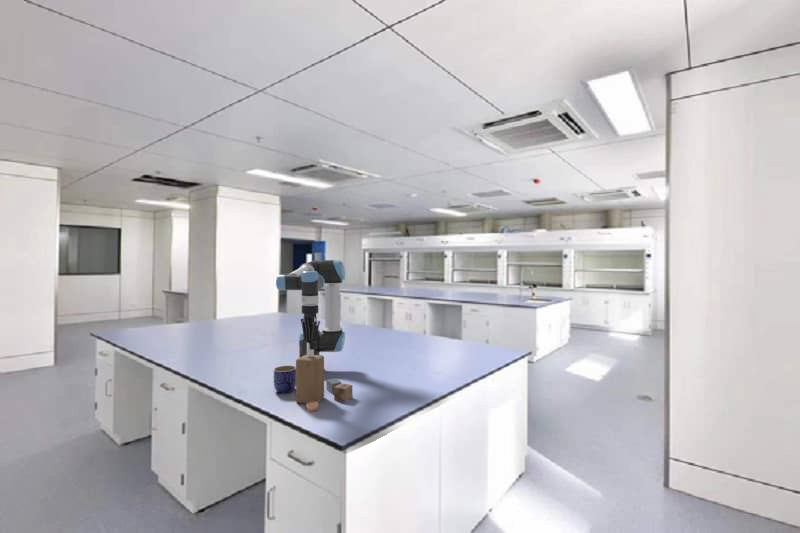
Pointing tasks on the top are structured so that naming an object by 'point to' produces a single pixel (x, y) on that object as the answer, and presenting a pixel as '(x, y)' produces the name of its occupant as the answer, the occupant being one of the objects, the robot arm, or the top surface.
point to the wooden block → (309, 378)
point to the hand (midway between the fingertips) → (310, 356)
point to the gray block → (332, 385)
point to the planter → (285, 379)
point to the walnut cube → (343, 392)
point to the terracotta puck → (312, 406)
